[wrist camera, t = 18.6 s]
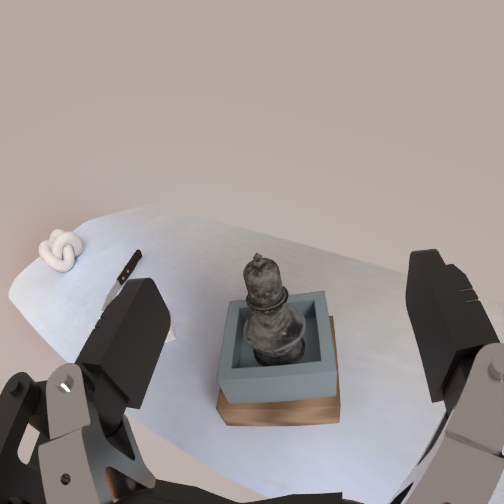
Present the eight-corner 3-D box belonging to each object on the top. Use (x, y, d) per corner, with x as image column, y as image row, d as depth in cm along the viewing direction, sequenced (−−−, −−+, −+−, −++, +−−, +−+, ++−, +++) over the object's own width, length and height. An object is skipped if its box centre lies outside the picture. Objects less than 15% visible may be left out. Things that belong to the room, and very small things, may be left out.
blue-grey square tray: (326, 319, 35) (324, 290, 33) (336, 395, 27) (336, 370, 24) (238, 328, 37) (229, 301, 35) (229, 403, 28) (216, 379, 26)
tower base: (333, 340, 38) (332, 315, 36) (339, 424, 28) (340, 405, 26) (241, 346, 40) (233, 323, 38) (227, 426, 31) (216, 408, 28)
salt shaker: (249, 331, 33) (220, 239, 27) (303, 322, 33) (289, 226, 26) (251, 377, 28) (217, 285, 22) (312, 366, 28) (301, 270, 21)
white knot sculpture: (74, 276, 65) (57, 244, 60) (41, 282, 66) (25, 253, 61) (92, 250, 74) (78, 220, 69) (59, 257, 75) (46, 230, 71)
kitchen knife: (139, 256, 66) (136, 249, 65) (143, 256, 66) (139, 248, 65) (102, 314, 51) (97, 306, 50) (106, 314, 51) (101, 306, 50)
